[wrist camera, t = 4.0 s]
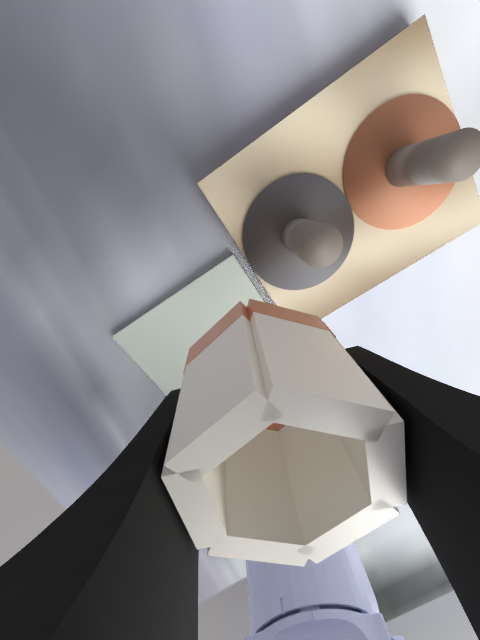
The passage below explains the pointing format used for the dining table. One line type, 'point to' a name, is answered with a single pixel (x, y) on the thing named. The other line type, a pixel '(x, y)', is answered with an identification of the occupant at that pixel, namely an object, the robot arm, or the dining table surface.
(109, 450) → the dining table surface
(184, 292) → the mat
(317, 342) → the sleeve
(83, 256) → the dining table surface
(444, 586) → the dining table surface
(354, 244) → the pin board
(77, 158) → the dining table surface
